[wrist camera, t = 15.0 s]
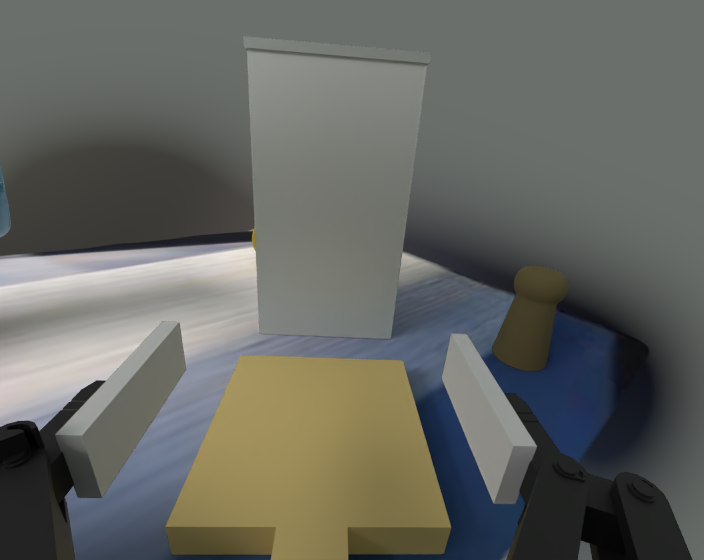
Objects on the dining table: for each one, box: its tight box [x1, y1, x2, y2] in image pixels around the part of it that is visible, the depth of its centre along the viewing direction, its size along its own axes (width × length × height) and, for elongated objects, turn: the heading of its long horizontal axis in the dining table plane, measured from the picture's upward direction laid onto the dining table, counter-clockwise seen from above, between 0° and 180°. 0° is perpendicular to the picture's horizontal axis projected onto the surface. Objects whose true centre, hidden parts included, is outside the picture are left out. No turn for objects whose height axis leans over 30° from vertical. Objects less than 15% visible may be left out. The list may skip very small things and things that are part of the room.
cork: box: [492, 266, 568, 371], centre depth 39 cm, size 6×6×11 cm
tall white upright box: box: [244, 37, 431, 339], centre depth 43 cm, size 16×16×30 cm
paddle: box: [165, 355, 451, 560], centre depth 22 cm, size 27×16×3 cm, turn 2°
